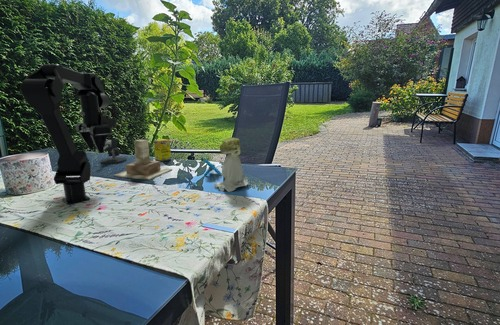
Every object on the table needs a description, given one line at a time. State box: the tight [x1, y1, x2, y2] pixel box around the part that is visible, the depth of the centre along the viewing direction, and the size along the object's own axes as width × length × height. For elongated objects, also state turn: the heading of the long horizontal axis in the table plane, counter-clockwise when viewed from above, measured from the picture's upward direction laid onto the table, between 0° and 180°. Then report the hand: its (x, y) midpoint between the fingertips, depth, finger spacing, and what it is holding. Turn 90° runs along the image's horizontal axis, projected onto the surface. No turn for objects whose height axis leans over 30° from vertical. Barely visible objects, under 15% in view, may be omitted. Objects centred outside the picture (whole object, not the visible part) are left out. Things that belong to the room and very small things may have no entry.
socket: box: [113, 160, 173, 181], centre depth 123 cm, size 18×16×5 cm
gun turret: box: [100, 136, 128, 165], centre depth 142 cm, size 13×20×13 cm, turn 14°
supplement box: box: [153, 138, 172, 163], centre depth 146 cm, size 6×6×11 cm
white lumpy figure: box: [213, 137, 250, 193], centre depth 103 cm, size 12×13×18 cm
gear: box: [202, 158, 222, 177], centre depth 119 cm, size 11×6×10 cm
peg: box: [133, 139, 151, 165], centre depth 122 cm, size 4×4×14 cm
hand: (96, 151), depth 106 cm, fingers open, 9 cm apart
